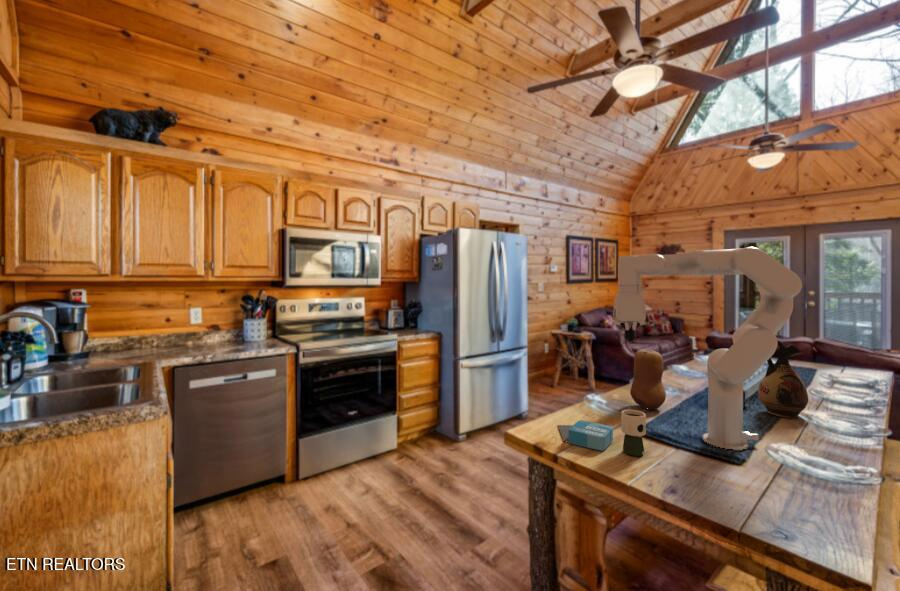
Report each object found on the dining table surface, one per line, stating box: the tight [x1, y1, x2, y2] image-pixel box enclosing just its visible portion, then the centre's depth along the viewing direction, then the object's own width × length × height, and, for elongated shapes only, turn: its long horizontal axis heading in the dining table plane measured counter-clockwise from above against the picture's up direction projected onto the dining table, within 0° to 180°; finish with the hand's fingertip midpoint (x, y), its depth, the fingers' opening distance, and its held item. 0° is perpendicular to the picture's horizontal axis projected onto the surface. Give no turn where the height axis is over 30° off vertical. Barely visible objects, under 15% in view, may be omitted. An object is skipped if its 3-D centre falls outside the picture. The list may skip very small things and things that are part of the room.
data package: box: [568, 419, 614, 451], centre depth 136 cm, size 12×4×12 cm
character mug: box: [620, 409, 647, 457], centre depth 127 cm, size 11×7×13 cm, turn 134°
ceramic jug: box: [757, 339, 809, 420], centre depth 160 cm, size 17×15×30 cm
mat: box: [557, 424, 574, 443], centre depth 144 cm, size 12×15×1 cm
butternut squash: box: [629, 348, 667, 410], centre depth 170 cm, size 14×13×25 cm
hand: (629, 340), depth 144 cm, fingers closed
